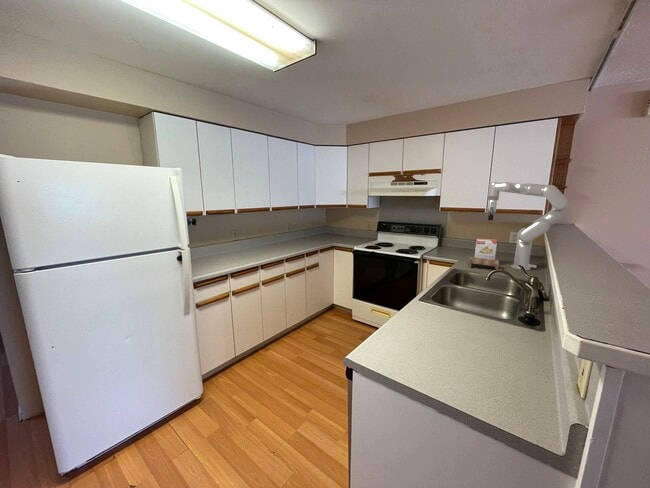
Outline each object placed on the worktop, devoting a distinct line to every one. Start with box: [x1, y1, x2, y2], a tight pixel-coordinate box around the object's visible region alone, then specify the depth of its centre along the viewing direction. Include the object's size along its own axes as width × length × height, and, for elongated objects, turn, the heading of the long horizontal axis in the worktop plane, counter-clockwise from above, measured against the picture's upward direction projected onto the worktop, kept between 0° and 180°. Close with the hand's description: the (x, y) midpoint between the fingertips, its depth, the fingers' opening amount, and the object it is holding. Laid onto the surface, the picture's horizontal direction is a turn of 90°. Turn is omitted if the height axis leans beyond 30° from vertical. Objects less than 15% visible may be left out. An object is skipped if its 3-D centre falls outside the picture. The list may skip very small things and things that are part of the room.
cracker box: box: [473, 238, 498, 260], centre depth 218 cm, size 14×6×21 cm, turn 70°
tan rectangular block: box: [467, 256, 500, 270], centre depth 209 cm, size 20×14×6 cm
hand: (490, 219), depth 214 cm, fingers open, 9 cm apart
